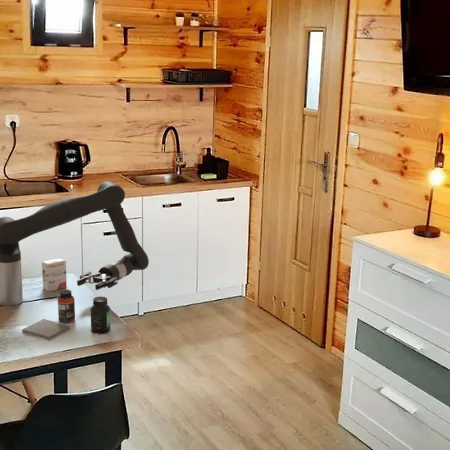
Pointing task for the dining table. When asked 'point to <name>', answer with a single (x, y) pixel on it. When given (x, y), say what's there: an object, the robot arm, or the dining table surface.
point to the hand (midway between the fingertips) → (87, 285)
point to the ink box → (54, 274)
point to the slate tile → (46, 329)
